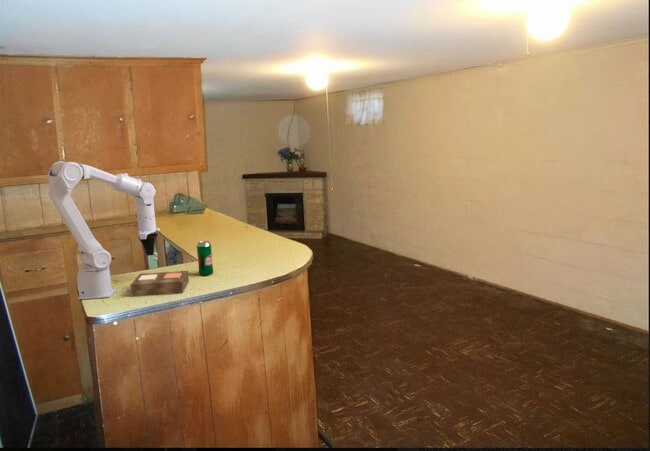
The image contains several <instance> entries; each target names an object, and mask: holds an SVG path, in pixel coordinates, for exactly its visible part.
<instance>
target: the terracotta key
mask: <svg viewBox="0 0 650 451" xmlns="http://www.w3.org/2000/svg"><path fill="white" fill-rule="evenodd" d="M181 276H182V273H172V274H166V275H165V277H164V278H163V280H166V279H180V277H181Z"/></svg>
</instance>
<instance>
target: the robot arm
mask: <svg viewBox="0 0 650 451" xmlns="http://www.w3.org/2000/svg"><path fill="white" fill-rule="evenodd" d="M47 176H48V196H49V199H50V200H51V202H52V203H53V205H54V207H55V209H56V210H57V212H58V214H59V216H60V217H61V219H62V220H63V221H64V223H65V225H66V226H67V228H68V230H69V231H70V234H71V236H72V237H73V238H74V240H75V242H76V243H77V244H78V245H77V250H78V252H79V253H80V254H79V255H80V256H79V257H80V261H81V262H82V263H83V264H84V268H83V269H79V270H78V272H77V275H76V282H77V289H78V290H77V291H78V300H88V299H89V300H90V299H103V298H105V299H106V298H110V297H111V296H112V295H113V294H114V293H115V292H116V290H117V288H112V279H111V272H110V265H111V262H112V255H111V253H110V252H109V251H108V250H106V249H104V248H103V245H101V244H100V242H98V240H96V238H95V236H94V234H93V233H92V231H91V229H90V228H89V226H88V224H87V223H86V221H85V219H84V217H83V216H82V214H81V213H80V211H79V209H78V207H77V205H76V204H75V202H74V201H73V199H72V197H71V194H72V192H73V189H74V187H75V186H76V185H77V184H78V183H79V182H80V181H81V180H86V179H87V180H88V179H92V180H94V181H98V182H102V183H106V184H109V185H111V187H112V188H113V190H114V191H117V192H120V193H124V194H126V195H129V196H132V197H134V198H135V207H136V208H135V209H136V217H137V226H138V231H137V232H138V234H139V236H138V240H139V241H140V243H141V244H142V246H143V248H144V252H145V254H146V256H147V257H148V256H153V255H154V253H155V246H156V241H157V238H158V232H159V231H161V228H160V227H157V222H156V215H155V214H156V213H155V202H154V200H155V199H154V197H155V196H156V192H157V190H156V189H155V187H154V185H153V184H152V183H150V182H147V181H142V179H141V178H135V177H132V176H129V173H127V172H123V173H122V172H121V173H117V174H115V175H114V174H112V173H109V172H107V171H104V170H103V169H102V170H101V169H99V168H97V167H93V166H91V165H88V164H82V163H77V162H75V161H63V160H59V161H56V162H54V163H53V164H52V165H51V167H50V169H49V170H48V173H47Z"/></svg>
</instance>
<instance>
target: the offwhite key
mask: <svg viewBox="0 0 650 451" xmlns="http://www.w3.org/2000/svg"><path fill="white" fill-rule="evenodd" d="M156 278H157V274H156V275H142V276H141V277H140V278H139V279H138V281H150V280H155V279H156Z"/></svg>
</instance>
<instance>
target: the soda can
mask: <svg viewBox="0 0 650 451" xmlns="http://www.w3.org/2000/svg"><path fill="white" fill-rule="evenodd" d="M212 251H213V250H212V244H211V241H209V240H200V241H198V242H197V245H196V252H197V253H196V254H197V264H198V274H199V275H200V276H201V277H207V276H212V275H213V274H214V265H213V252H212Z"/></svg>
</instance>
